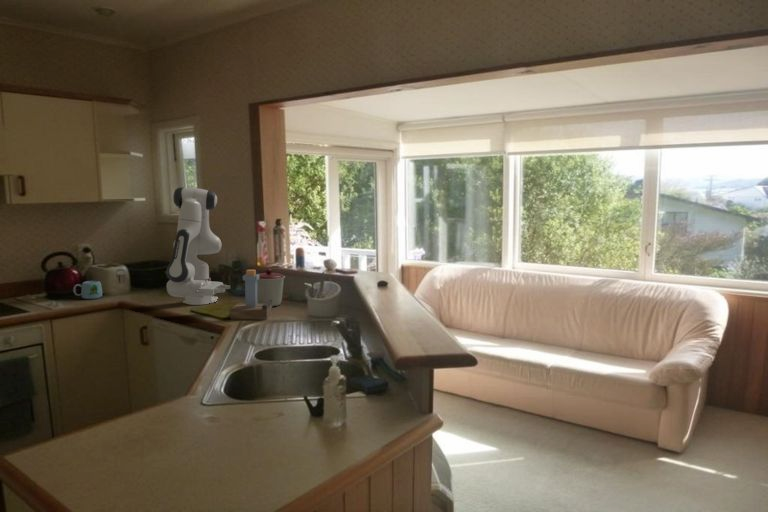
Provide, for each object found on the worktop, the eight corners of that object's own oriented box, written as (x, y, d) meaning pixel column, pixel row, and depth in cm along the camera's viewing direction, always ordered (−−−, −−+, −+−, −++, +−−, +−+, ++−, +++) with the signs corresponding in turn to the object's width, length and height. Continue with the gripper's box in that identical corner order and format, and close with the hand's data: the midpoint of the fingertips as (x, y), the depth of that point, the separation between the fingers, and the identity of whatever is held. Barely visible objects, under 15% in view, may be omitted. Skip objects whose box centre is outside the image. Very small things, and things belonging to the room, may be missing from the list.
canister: (277, 309, 277) (277, 271, 274) (247, 307, 280) (246, 270, 278) (290, 302, 294) (289, 267, 292) (261, 301, 298) (260, 266, 296)
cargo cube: (248, 277, 260) (247, 269, 260) (255, 277, 260) (255, 269, 260) (246, 278, 256) (246, 270, 256) (254, 278, 256) (254, 270, 256)
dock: (238, 312, 268) (237, 299, 267) (272, 312, 269) (272, 299, 268) (230, 319, 252) (230, 305, 251) (266, 319, 253) (266, 305, 252)
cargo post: (246, 304, 263) (245, 274, 261) (259, 304, 263) (259, 274, 262) (243, 307, 256) (242, 276, 254) (257, 307, 256) (256, 276, 255)
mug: (75, 301, 291) (74, 284, 290) (72, 298, 299) (71, 282, 298) (104, 298, 301) (103, 282, 300) (100, 295, 309) (99, 279, 308)
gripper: (193, 286, 247) (221, 286, 248) (205, 279, 267) (232, 279, 268) (193, 298, 248) (222, 298, 248) (206, 291, 268) (232, 291, 269)
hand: (227, 288), depth 258 cm, fingers open, 8 cm apart
